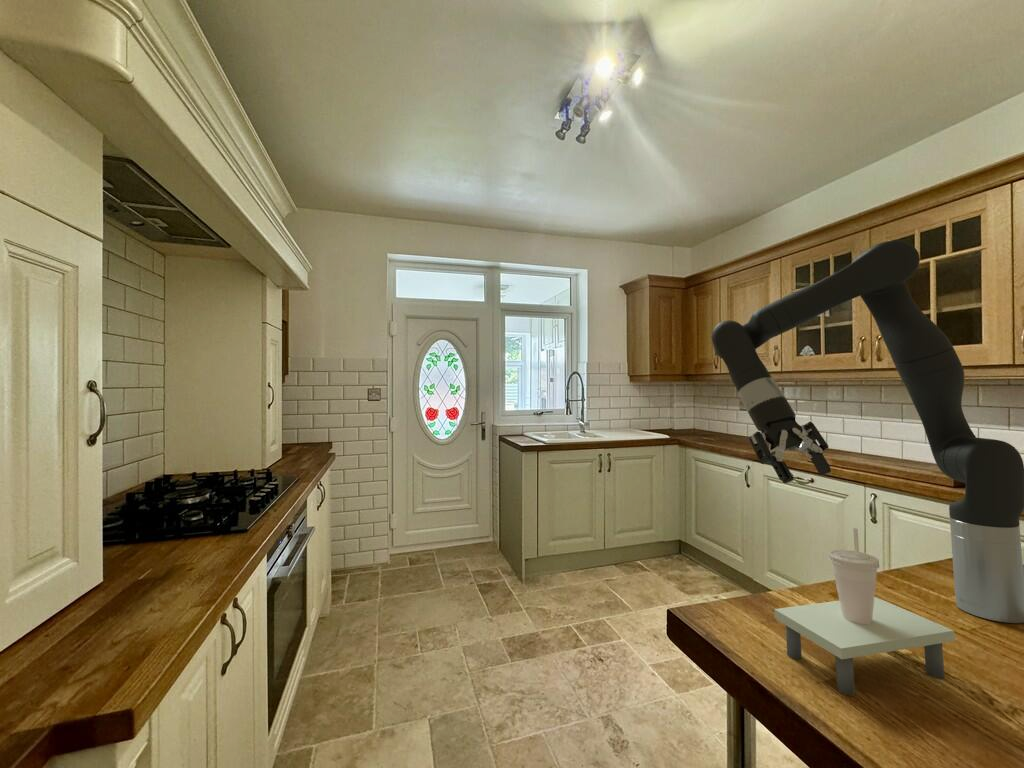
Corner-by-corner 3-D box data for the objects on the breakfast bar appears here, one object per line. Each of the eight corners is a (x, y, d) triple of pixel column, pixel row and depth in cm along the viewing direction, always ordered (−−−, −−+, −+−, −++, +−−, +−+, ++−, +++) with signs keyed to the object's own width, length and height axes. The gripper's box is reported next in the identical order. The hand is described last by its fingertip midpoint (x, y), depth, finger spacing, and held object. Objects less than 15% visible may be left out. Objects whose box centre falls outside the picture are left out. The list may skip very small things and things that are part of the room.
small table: (875, 636, 76) (873, 596, 77) (957, 679, 64) (954, 630, 65) (776, 652, 72) (774, 609, 73) (844, 700, 61) (841, 648, 61)
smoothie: (893, 630, 65) (887, 535, 66) (845, 627, 66) (839, 533, 67) (867, 610, 72) (862, 523, 72) (823, 607, 73) (819, 522, 73)
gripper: (746, 400, 87) (789, 478, 79) (806, 390, 90) (853, 464, 82) (726, 417, 93) (764, 490, 85) (782, 407, 96) (824, 477, 88)
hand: (807, 477), depth 84 cm, fingers open, 8 cm apart
